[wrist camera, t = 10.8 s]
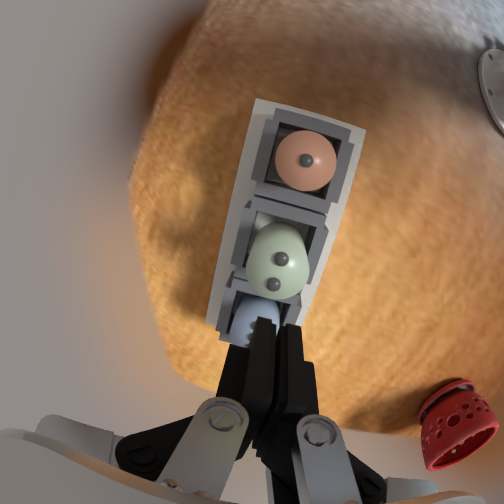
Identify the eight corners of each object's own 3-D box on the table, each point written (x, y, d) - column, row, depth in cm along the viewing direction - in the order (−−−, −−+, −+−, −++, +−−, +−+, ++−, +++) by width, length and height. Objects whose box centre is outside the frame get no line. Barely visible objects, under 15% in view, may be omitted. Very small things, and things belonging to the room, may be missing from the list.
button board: (257, 101, 22) (251, 88, 18) (361, 131, 22) (379, 126, 17) (208, 315, 30) (196, 341, 26) (293, 337, 30) (294, 366, 25)
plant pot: (411, 393, 32) (434, 453, 21) (478, 361, 29) (510, 409, 18) (407, 431, 36) (422, 481, 24) (466, 405, 33) (487, 448, 22)
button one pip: (283, 131, 21) (283, 123, 16) (330, 144, 21) (343, 141, 16) (271, 176, 22) (268, 182, 17) (317, 189, 22) (327, 198, 17)
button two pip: (260, 216, 21) (253, 234, 16) (310, 229, 21) (318, 251, 16) (248, 262, 23) (239, 292, 18) (295, 274, 23) (298, 307, 18)
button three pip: (243, 283, 26) (234, 312, 21) (285, 293, 26) (285, 325, 21) (234, 317, 27) (224, 350, 22) (273, 327, 27) (270, 361, 22)
